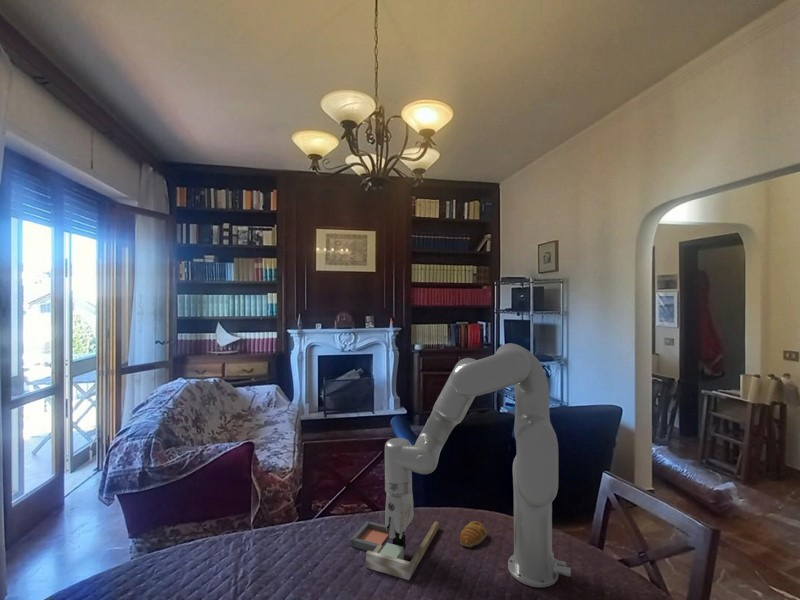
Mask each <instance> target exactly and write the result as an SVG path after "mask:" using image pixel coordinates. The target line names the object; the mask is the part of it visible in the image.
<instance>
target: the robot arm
mask: <svg viewBox="0 0 800 600" xmlns="http://www.w3.org/2000/svg"><path fill="white" fill-rule="evenodd" d="M547 377H548V376H547V375H546V372H545V369H544V368H543V366H542V364H541V362H540V361H539V360H538V358H537V357H536V355H534V354H533V353H532V352H531V351H530V350H528V349H526V348H525V347H523V346H522V345H519V344H517V343H512V342H511V343H505V344H503V345H500V346H499V347H498V348H497V350H496V352H495V354H491V355H489V356H487V357H483V358H480V359H475V358H472V357H464V358H462V359H460V360H458V362H457V363H456V364H455V365H454V368H453V369H452V371H451V373H450V375H449V376H448V379H447V381H446V382H445V384H444V386H443V387H442V390H441V392H440V394H439V395H438V397H437V399H436V401H435V402H434V405H433V407H432V411H431V413H430V416H429V417H428V418H427V420H426V423H425V425H424V426H423V428H422V430H421V432H420V433H419V436H418V437H417V438H416V441H415V443H414V445H413V444H412V443H411V442H410V440H408V439H407V438H402V437H394V438H390V439H388V440H387V441H386V442H385V444H384V491H385V493H386V496H385V512H384V525H385V526H386V530H387V531H388V530H389V529H390V530H389V536H388V538H390V539H392V544H394V545H398V546H402V547H404V551H405V549H406V534H407V528H408V527H409V525H410V524H411V522H412V521H413V519H414V516H415V515H414V514H415V512H414V497H413V496H414V495H413V474H412V473H413V472H414V473H417V474H420V475H428V474H431V473H433V472H434V471H435V470H436V468H437V466H438V463H439V458H440V453H441V451H442V450H443V447H444V445H445V444H446V442H447V440H448V438H449V436H450V434H451V433H452V431H453V430H454V428H455V427H456V426H458V424H460V423H462V421H463V420H464V418H465V416H466V415H467V412H468V410H469V408H471V406H472V403H473V401H474V399H475V398H476V397H478V396H482V395H485V394H490V393H493V392H495V391H498V390H504V389H505V388H508V387H513V386H514V402H515V403H514V426H513V434H514V437H515V438H514V439H515V447H516V455H515V457H514V458H513V462H512V485H513V487H512V489H513V554H512V555H510V557H509V558H508V561H507V569H508V572H509V573H510V575H511V576H512V577H513V578H514V579H515V580H517V581H518V582H519V583H522V584H524V585H526V586H529V587H532V588H547V587H550V586H553V585H554V584H556V583H557V581H558V580H559V575H563V576H566V577H571V576H572V570H571V569H572V568H571V567H568V566H567V562H566V561H564V560H558V559H557V558H555V554H554V553H555V552H553V516H552V515H553V501H554V500H555V498H556V497H557V494H558V490H559V442H558V438H557V437H558V436H557V433H556V432H555V429H554V428H553V427H554V426H553V425H552V422H551V417H550V393H549V383H548V379H547ZM395 530H396V531H395Z"/></svg>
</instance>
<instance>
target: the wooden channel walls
mask: <svg viewBox="0 0 800 600" xmlns="http://www.w3.org/2000/svg"><path fill="white" fill-rule="evenodd" d="M439 527H440V526H439V521H434V522H433V524H432V525H431V527H430V528H429V530H428V532H427V533H426V535H425V537H424V538H423V541H422V542H421V544H420V545H419V546H418V548H417V550H416V551H415V554H414V555H413V557H412V559H411V560H410V561H408V560H405V559H404V560H402V559H398V558H394V557H391V556H387V555H383V554H380V552H381V550H382V549H383V544H382V545H380V544H378V545H377V547H376V548H375V549H374V551H373V552H372V551H369V550H368V551H366V552H365V568H366V569H370V570H373V571H376V572H380V573H384V574H387V575H389V576H392V577H396V578H400V579H403V580H407V581H410V580H411V577H412V576H413V574H414V572H415V571H416V569H417V568H418V565H419V564H420V562H421V560H422V559H423V557H424V555H425V553H426V552H427V550H428V548H429V546H430V544H431V542H432V540H433V539H434V538H435V536H436V534H437V532H438V531H439ZM395 531H396V530H395Z"/></svg>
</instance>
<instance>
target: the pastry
mask: <svg viewBox="0 0 800 600" xmlns="http://www.w3.org/2000/svg"><path fill="white" fill-rule="evenodd" d="M487 535H488V532H487V530H486V528H485V526H484V525H483V524H482V523H481V522H480V521H470V522H469V523H468V524H466V525H465V526H464V527H463V529H462V530H461V531H460V538H459V543H460V546H463V547H466V548H473V547H474V546H477V545H480V544H481V543H483V541H484V540H485V539H486V537H487Z"/></svg>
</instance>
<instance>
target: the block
mask: <svg viewBox="0 0 800 600" xmlns="http://www.w3.org/2000/svg"><path fill="white" fill-rule="evenodd" d="M404 553H405V550H404V547H402V546H398V545H394V544H393V543H389V542H386V543H385V544H384V546H382V550H381V552H380V554H383V555H387V556H391V557H394V558H398V559H402V560H405V558H404V557H405V555H404Z"/></svg>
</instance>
